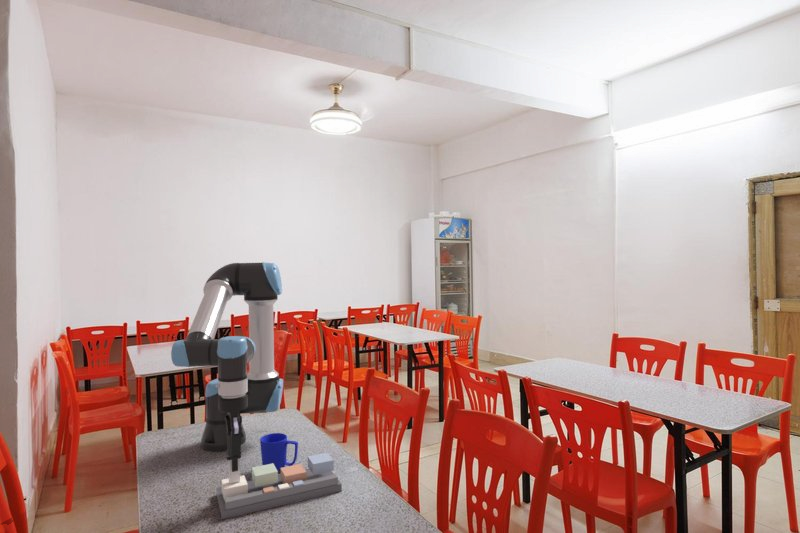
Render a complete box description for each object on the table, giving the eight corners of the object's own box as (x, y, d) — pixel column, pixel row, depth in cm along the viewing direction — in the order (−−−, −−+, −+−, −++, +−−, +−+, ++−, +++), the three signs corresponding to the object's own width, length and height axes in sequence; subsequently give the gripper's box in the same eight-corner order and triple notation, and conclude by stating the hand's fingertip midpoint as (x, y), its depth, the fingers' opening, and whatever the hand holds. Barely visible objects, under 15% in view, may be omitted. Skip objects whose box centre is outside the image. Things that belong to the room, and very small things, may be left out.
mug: (292, 477, 144) (291, 444, 143) (255, 474, 146) (255, 441, 146) (303, 465, 152) (302, 434, 152) (268, 462, 154) (267, 432, 154)
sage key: (251, 478, 134) (251, 467, 134) (273, 473, 136) (273, 463, 136) (255, 487, 128) (255, 476, 128) (277, 482, 131) (277, 471, 131)
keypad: (216, 495, 133) (216, 479, 133) (326, 471, 147) (326, 457, 147) (221, 519, 121) (221, 502, 121) (341, 490, 135) (341, 475, 135)
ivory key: (221, 490, 130) (221, 479, 130) (244, 485, 133) (244, 475, 133) (224, 500, 125) (223, 489, 125) (247, 495, 127) (247, 484, 127)
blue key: (307, 466, 141) (307, 456, 141) (327, 462, 143) (327, 452, 143) (313, 474, 135) (313, 464, 135) (333, 470, 138) (333, 460, 138)
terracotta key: (280, 478, 137) (280, 467, 137) (301, 473, 140) (301, 463, 140) (285, 487, 132) (285, 476, 132) (306, 482, 134) (306, 471, 134)
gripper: (215, 390, 132) (217, 474, 133) (220, 402, 121) (222, 495, 121) (243, 387, 136) (245, 469, 136) (251, 398, 124) (252, 488, 124)
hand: (234, 481), depth 129 cm, fingers closed
